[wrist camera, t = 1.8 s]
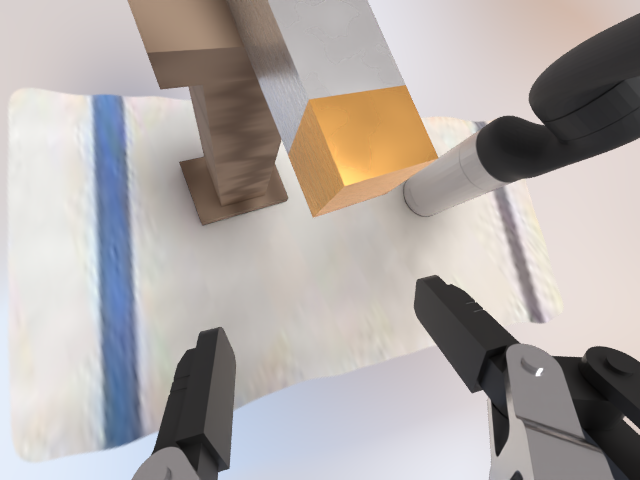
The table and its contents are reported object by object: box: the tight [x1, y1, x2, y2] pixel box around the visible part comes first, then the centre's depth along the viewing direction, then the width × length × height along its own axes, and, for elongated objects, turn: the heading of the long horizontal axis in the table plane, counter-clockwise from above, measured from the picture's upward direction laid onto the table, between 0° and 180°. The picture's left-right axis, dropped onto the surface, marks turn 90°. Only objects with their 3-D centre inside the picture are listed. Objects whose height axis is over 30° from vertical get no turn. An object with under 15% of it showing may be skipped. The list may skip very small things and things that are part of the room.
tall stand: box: [128, 0, 288, 225], centre depth 28 cm, size 14×13×32 cm
